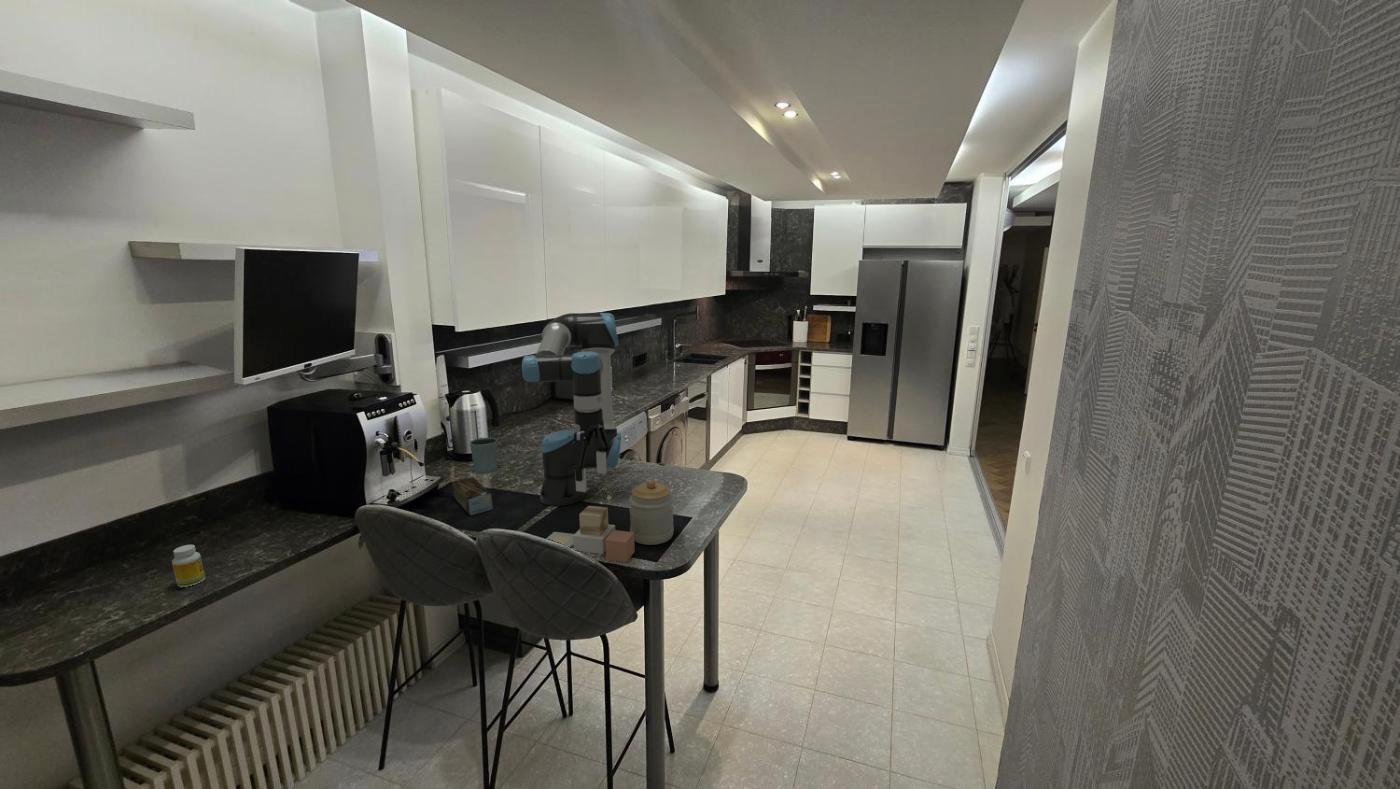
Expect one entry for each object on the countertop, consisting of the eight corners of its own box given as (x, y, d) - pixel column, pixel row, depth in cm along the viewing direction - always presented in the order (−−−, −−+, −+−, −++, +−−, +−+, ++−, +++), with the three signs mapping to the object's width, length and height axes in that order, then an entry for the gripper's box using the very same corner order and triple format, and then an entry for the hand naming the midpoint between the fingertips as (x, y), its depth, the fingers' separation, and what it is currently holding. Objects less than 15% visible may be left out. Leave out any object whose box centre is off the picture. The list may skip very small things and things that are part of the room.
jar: (621, 538, 163) (619, 482, 160) (647, 522, 174) (646, 469, 170) (657, 550, 157) (655, 491, 153) (682, 532, 168) (681, 477, 164)
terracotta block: (606, 559, 152) (605, 539, 150) (614, 549, 157) (614, 530, 156) (626, 562, 150) (625, 542, 149) (634, 551, 156) (634, 532, 155)
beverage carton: (468, 516, 179) (466, 497, 178) (452, 498, 194) (450, 480, 192) (493, 510, 184) (491, 491, 182) (475, 492, 199) (474, 475, 197)
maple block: (599, 536, 155) (599, 516, 154) (580, 533, 157) (579, 514, 156) (608, 526, 161) (607, 507, 160) (589, 524, 162) (588, 505, 161)
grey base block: (573, 550, 157) (572, 535, 156) (587, 535, 165) (586, 522, 164) (603, 554, 155) (602, 539, 154) (615, 539, 163) (615, 525, 162)
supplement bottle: (176, 582, 141) (168, 548, 139) (204, 574, 145) (196, 540, 143) (178, 590, 138) (170, 555, 136) (207, 582, 142) (199, 547, 139)
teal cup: (467, 472, 217) (464, 443, 215) (483, 464, 227) (481, 436, 224) (488, 475, 215) (486, 445, 212) (505, 466, 224) (502, 438, 221)
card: (538, 547, 158) (538, 545, 158) (554, 533, 167) (554, 531, 167) (567, 551, 156) (567, 549, 156) (581, 536, 165) (581, 534, 164)
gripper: (580, 422, 138) (584, 500, 143) (618, 399, 162) (621, 467, 167) (553, 420, 140) (558, 498, 145) (595, 397, 164) (598, 465, 169)
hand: (592, 481), depth 156 cm, fingers open, 13 cm apart
